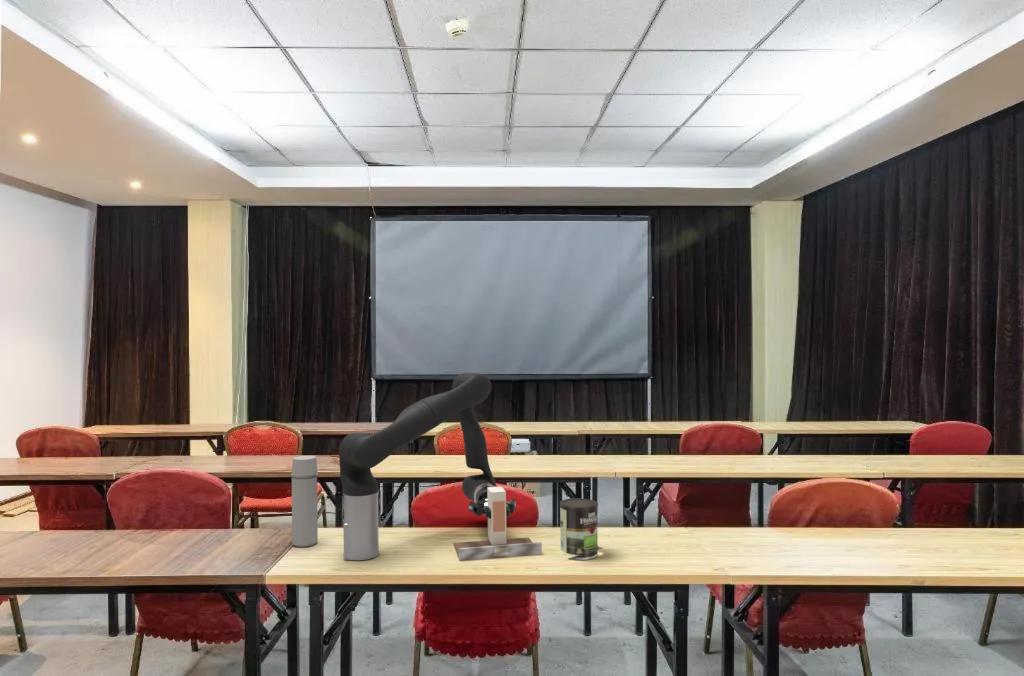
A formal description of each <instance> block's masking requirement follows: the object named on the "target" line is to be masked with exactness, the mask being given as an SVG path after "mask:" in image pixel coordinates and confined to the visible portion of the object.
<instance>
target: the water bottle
mask: <svg viewBox="0 0 1024 676" xmlns="http://www.w3.org/2000/svg"><path fill="white" fill-rule="evenodd" d="M318 472H319V471H318V462H317V456H316V455H299V456H294V457H293V458H292V466H291V473H290V476H291V532H292V533H291V538H292V539H291V541H292V542H291V544H292V546H295V547H297V548H307V547H310V546H311V547H312V546H314V545H315V544H317V542H318V537H319V536H318V535H319V533H318V524H319V523H318V475H319V473H318Z"/></svg>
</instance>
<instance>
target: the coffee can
mask: <svg viewBox="0 0 1024 676" xmlns="http://www.w3.org/2000/svg"><path fill="white" fill-rule="evenodd" d="M559 511H560V514H559V515H560V516H559V517H560V518H559V519H560V521H559V524H560V550H561V552H563V553H565V554H569V555H575V556H571V557H568V558H567V559H568V560H572V561H588V560H593V559H596V558H597V557H598V555H599V553H598V549H599V548H598V544H599V543H598V501H596V500H593V499H589V498H580V497H576V498H575V497H574V498H566V499H563V500H560V501H559Z"/></svg>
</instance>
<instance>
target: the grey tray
mask: <svg viewBox="0 0 1024 676" xmlns="http://www.w3.org/2000/svg"><path fill="white" fill-rule="evenodd" d="M452 545H453V548H454V551H455V553H456V556H457V558H458V561H460V562H463V561H476V560H489V559H500V558H514V557H526V556H537V555H538V556H540V555H542V554H543V551H542V549H543V546H542V545H543V543H542V541H538V542H537V541H536V542H535V541H534V542H533V541H532V540H531V539H530V537H517V538H516V537H515V538H507V544H497V545H492V544H491V542H490V541H489V539H488V540H475V541H464V542H463V541H461V542H453V543H452Z"/></svg>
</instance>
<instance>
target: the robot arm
mask: <svg viewBox="0 0 1024 676" xmlns="http://www.w3.org/2000/svg"><path fill="white" fill-rule="evenodd" d="M491 391H492V383H491V381H490V379H489V378H488V377H487V375H485V374H482V373H478V372H476V373H475V372H462V373H459V374H457V375H456V376H455V378H454V379H453V382H452V389H451V390H448V391H445V392H440V393H437V394H434V395H431V396H430V395H429V396H427V397H425V398H422V399H420V400H418V401H416V402H414V403H412V404H411V405H409V406H407V407H406V408H404V409H403V410H402V411H401V412H400V413H399V414H398V416H397V417H396V419H394V421H393V422H392V423H391V424H390V425H388V426H387V427H385V428H384V427H383V428H382V429H381V430H378V431H376V432H373V433H371V434H366V433H362V432H352V433H349V434H347V435H346V436H345V437H344V438H343V439H342V441H341V443H340V446H339V452H338V453H339V454H338V455H339V456H338V457H339V459H338V461H339V475H340V476H339V478H340V482H341V485H342V488H343V526H342V530H343V560H345V561H346V560H350V561H365V560H366V561H367V560H371V559H374V558H376V557H377V556H379V554H380V552H379V551H380V543H379V542H380V541H379V537H380V536H379V533H380V532H379V527H380V526H379V482H378V480H377V479H376V478H375V477H374V475H373V473H372V470H371V469H372V468H374V467H376V466H378V465H379V464H380V463H382V462H383V461H385V460H386V459H387V458H389V457H390V456H391V455H392V454H394V453H395V452H396V451H397V450H399V449H400V448H402V447H403V446H406V445H408V444H409V443H411V442H413V441H415V440H416V439H418V438H420V437H421V436H423V435H425V434H427V433H428V432H430V431H432V430H434V429H435V428H437V427H438V426H439V425H441V424H443V423H445V422H446V421H448V420H449V419H451V418H453V417H454V416H456V415H457V414H458V418H459V422H460V427H461V431H462V437H463V447H464V456H465V464H466V467H467V468H468V469H474V470H480V471H481V472H482V473H481V474H480V473H479V474H474V475H473V474H472V475H468V476H466V477H465V478H464V479H463V481H462V482H461V483H462V484H461V485H462V486H461V489H462V492H463V494H464V496H465V497H466V498H467V499H468V500H471V501H469V502H468V511H469V513H472V514H473V515H476V516H482V515H483V516H484V517H485V518H487V519H488V518H489V519H491V510H490V508H489V507H488V499H487V487H497V483H496V481H495V478H494V475H493V472H492V470H491V467H490V463H489V457H488V456H489V455H488V447H487V440H486V436H485V433H484V431H483V429H482V426H481V425H480V423H479V421H478V418H477V415H476V411H475V406H476V405H478V404H479V403H482V402H484V401H485V400H486V399H487V398H488V397H489V395H490V393H491ZM516 504H517V501H516V499H515V498H511V499H510V500H509V501H507V500H506V518H509V517H510V516H511V514H514V513H515V510H516V509H517V508H516V506H517V505H516Z"/></svg>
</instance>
